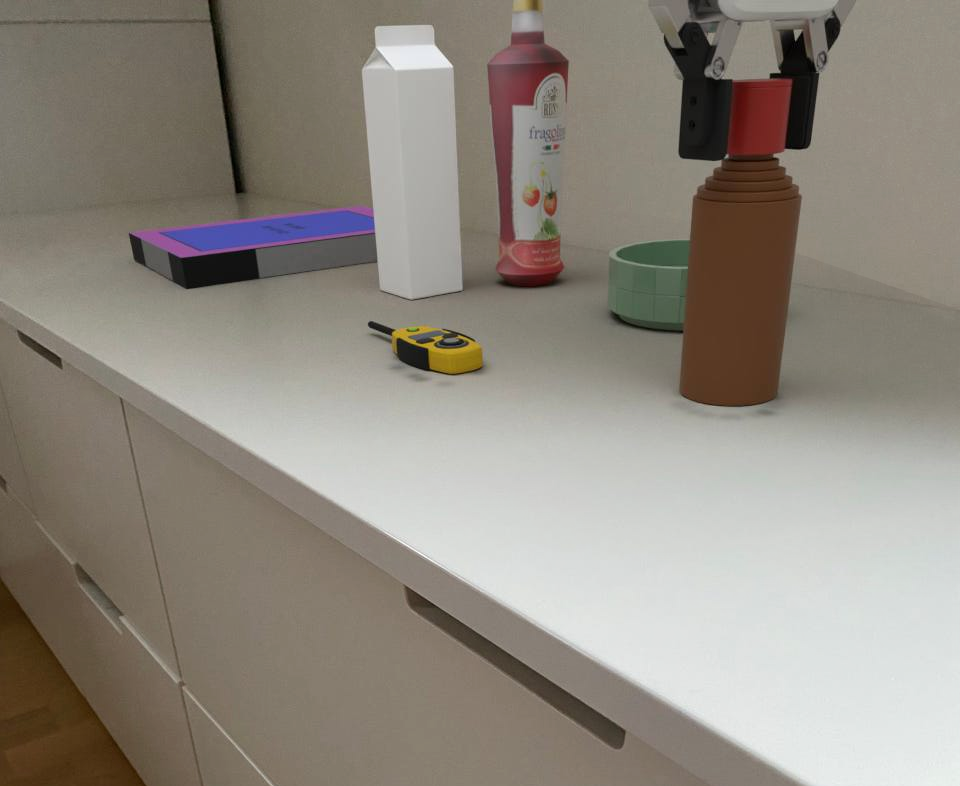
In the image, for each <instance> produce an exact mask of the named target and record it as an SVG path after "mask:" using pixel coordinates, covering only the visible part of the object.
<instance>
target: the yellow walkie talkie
mask: <svg viewBox="0 0 960 786" xmlns="http://www.w3.org/2000/svg"><path fill="white" fill-rule="evenodd" d="M367 326H368V328H369V329H372V330H374V331H377V332H379V333H381V334H385V335H388V336H390V337H391V344H392V350H393V351H392V352H394V353H395V354H396V355H397V358H398V359H399V360H400V361H402V362H404V363H405V364H408V365H410V366H413V367H416V368H418V369H422V370H426V371H430V370H432V371H435V372H440V373H444V374H448V375H450V374H451V375H456V374H462V373H468V372H472V371H475V370H478V369H480V368H481V367H483V363H484V361H483V360H484V359H483V358H484V357H483V348H482V346H481V345H480V344H478V343H477V342H476V340H475V339H474V338H473V337H471V336H469V335H466V334H463V333H461V332H458V331H455V330H451V329H447V328H441V329H440V328H436V327H431V326H425V325H416V326H409V327H404V328H403V327H402V328H400V329H396V328H395V329H394V328H392V327H389V326H387V325H383V324H381V323H378V322H376V321H372V320H369V321H368V322H367Z"/></svg>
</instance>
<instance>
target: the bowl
mask: <svg viewBox="0 0 960 786" xmlns="http://www.w3.org/2000/svg"><path fill="white" fill-rule="evenodd" d="M689 246H690V238H673V239H672V238H670V239H669V238H667V239H655V240H646V241H640V242H633V243H629V244H625V245H621V246H618V247H615V248H614V249H612V250H610V251H609V252H608V276H607V277H608V280H607V309H608V310H610V311H611V312H613V313H614V314H616V315H617V316H618V318H619V319H621V320H622V321H623V322H624V323H627V324H630V325H634V326H637V327H641V328H647V329H653V330H663V331H675V332H678V331H680V332H683V330H684V316H685V302H686V288H687V274H688V260H689Z"/></svg>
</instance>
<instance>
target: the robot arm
mask: <svg viewBox="0 0 960 786" xmlns="http://www.w3.org/2000/svg"><path fill="white" fill-rule="evenodd" d="M647 1H648V8H649V11H650V12H651V14H652V16H653V18H654V21H655V23H656V24H657V26H658V28H659V31H660V32H661V34H663V43H664V45H665V48H666V49H667V51H668V53H669V54H670V57H671V58H672V60H673V62H674V66H673V72H674V76H675V77H676V79H677V80H679V81H682V84H681V85H682V87H681V100H680V101H681V102H680V103H681V104H680V115H679V116H680V118H679V119H680V120H679V132H678V133H679V134H678V149H677V150H678V151H677V152H678V153H677V154H678V156H679V158H680V159H683V160H693V161H694V160H695V161H706V162H707V161H708V162H718V161H722V160H723V159H725V158H726V156H727V155H728V154H727V148H728V136H729V125H730V113H731V101H732V90H733V85H732V81H733V80H734V79H733V78H723V77H724V76H725V74H726V71H727V68H728V65H729V63H730V60H731V57H732V54H733V52H734V49H735V46H736V43H737V40H738V38H739V35H740V32H741V29H742V27H743V24H744V23H753V22H765V21H769V22H770V28H771V34H772V40H773V45H774V46H773V47H774V51H775V58H776V64H777V69H778V72H770V73H769V78H768V79H776V78H783V79H792V89H791V98H790V107H789V116H788V125H787V133H786V142H785V150H793V151H794V150H796V151H801V150H802V151H803V150H807V149H809V148H810V146H811V143H812V136H813V127H814V121H815V120H814V119H815V113H816V103H817V97H818V89H819V81H820V73H822V72H824V71H825V70H826V68H827V67H828V64H829V52H830V50H831V49H832V48H833V46H834V44H835V42H836V41H837V39H838V38H839V36H840V33H841V29H842V28H841V27H842V26H843V25H844V23H845V22H846V20H847V19H848V17H849V15H850V14H851V11H852V10H853V8H854V7H855V5H856V2H857V0H647ZM795 30H802V31H801V32H800V34H799V35H798V36H797V38H796V37H795ZM709 34H714V36H713V39H712V41H711V43H710V41H709V39H708V36H709Z"/></svg>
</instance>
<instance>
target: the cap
mask: <svg viewBox="0 0 960 786" xmlns="http://www.w3.org/2000/svg"><path fill="white" fill-rule="evenodd" d="M732 85H733V90H732V101H731V113H730V125H729V136H728V148H727V154H726V155H766V154H774V155H775V154H776V155H777V154H782V153H784V152H785V150H786V149H785V142H786V133H787V125H788V116H789V107H790V98H791V89H792V79H783V78H776V79H769V78H746V79H733V81H732Z"/></svg>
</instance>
